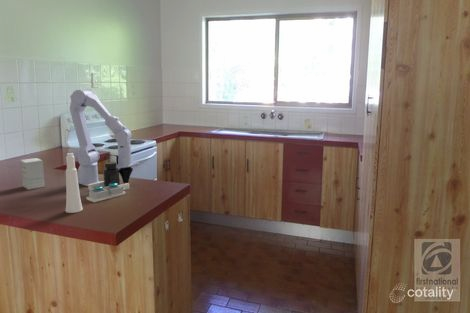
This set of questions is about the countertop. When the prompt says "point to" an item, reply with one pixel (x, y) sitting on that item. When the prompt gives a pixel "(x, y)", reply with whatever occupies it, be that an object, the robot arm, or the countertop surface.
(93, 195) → the white knob panel
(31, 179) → the supplement box
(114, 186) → the plunger inner
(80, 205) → the cosmetic bottle
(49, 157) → the countertop surface
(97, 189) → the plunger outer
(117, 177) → the supplement bottle
